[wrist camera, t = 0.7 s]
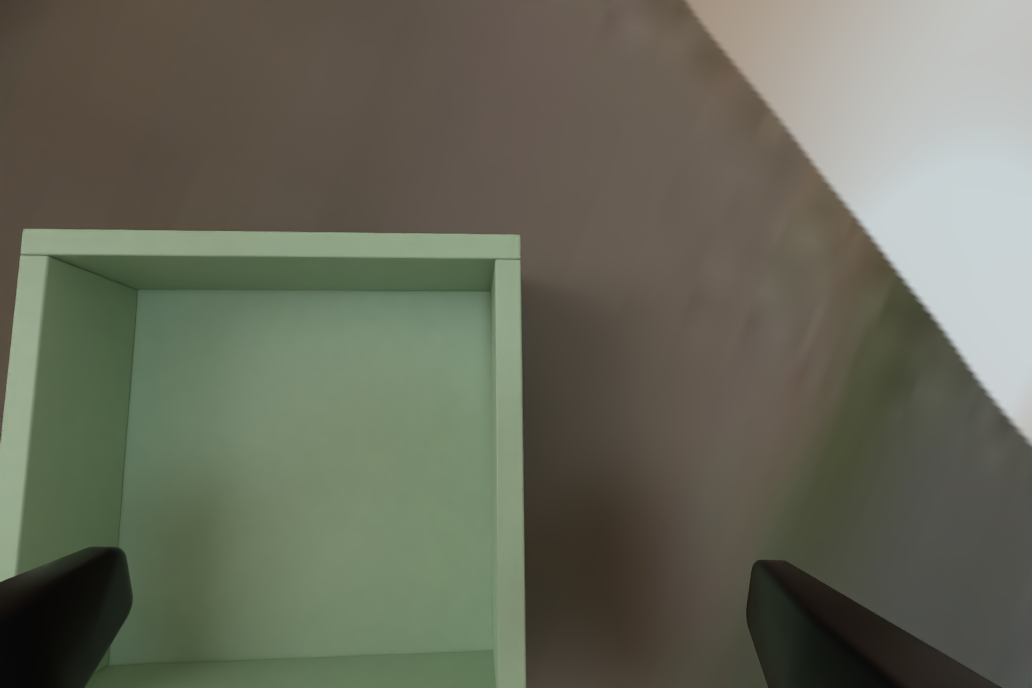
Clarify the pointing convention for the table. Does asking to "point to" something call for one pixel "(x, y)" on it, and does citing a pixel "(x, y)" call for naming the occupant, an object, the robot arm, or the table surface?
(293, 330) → the mint green tray
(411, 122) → the table surface
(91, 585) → the robot arm
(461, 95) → the table surface
